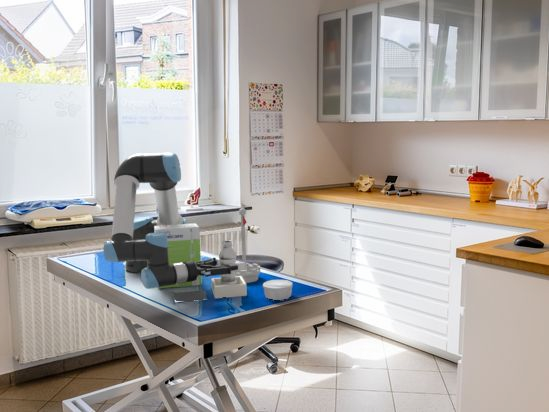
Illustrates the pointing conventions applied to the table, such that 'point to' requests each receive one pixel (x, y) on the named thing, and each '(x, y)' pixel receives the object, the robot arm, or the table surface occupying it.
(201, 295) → the rubber mat
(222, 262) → the plastic bottle
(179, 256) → the green white carton
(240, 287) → the white square tray
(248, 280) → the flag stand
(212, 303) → the table surface
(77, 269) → the table surface
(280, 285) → the ramekin
